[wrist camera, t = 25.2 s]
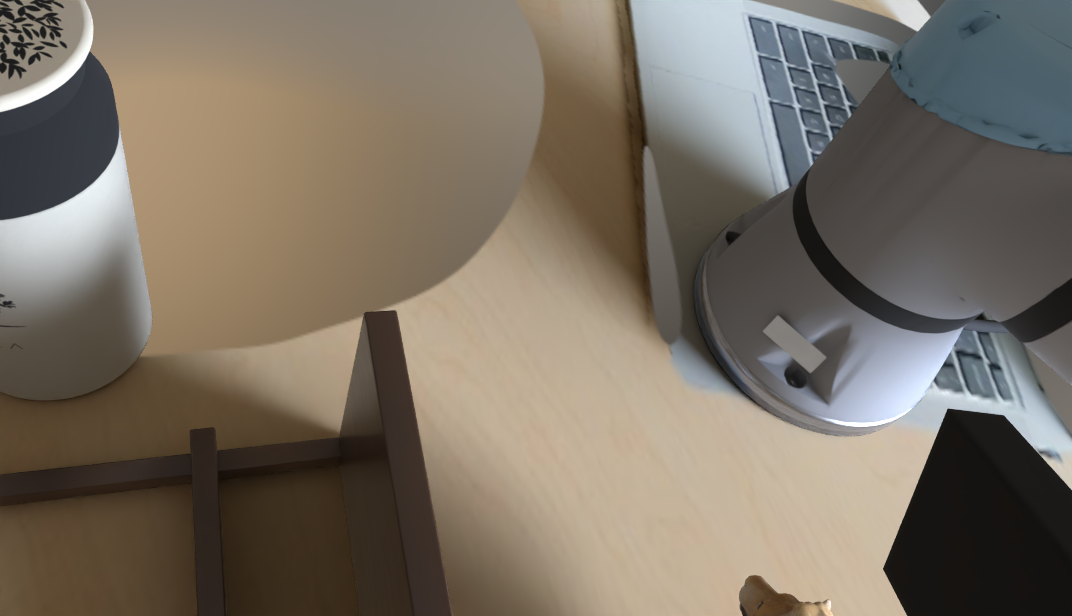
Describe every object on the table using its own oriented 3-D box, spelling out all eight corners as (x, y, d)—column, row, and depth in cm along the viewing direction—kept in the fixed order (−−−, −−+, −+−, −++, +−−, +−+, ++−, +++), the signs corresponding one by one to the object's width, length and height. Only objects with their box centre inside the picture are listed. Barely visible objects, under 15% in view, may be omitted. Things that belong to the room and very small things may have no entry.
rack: (362, 442, 41) (396, 309, 31) (406, 737, 35) (465, 683, 25) (-342, 522, 32) (-599, 368, 22) (-456, 942, 25) (-886, 984, 16)
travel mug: (72, 230, 43) (-18, -98, 28) (189, 326, 42) (157, 35, 27) (-82, 327, 38) (-285, -6, 24) (44, 438, 37) (-87, 159, 23)
